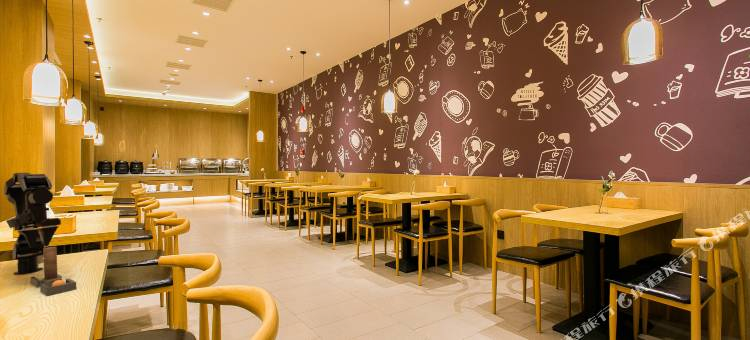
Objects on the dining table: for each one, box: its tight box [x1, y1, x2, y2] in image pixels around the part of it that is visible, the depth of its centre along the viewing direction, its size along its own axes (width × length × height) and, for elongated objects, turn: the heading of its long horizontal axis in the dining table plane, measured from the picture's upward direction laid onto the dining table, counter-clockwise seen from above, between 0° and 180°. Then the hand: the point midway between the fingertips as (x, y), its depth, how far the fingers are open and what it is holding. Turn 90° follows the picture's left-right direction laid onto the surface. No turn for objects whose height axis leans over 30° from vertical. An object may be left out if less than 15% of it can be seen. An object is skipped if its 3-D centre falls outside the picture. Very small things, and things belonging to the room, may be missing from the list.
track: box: [29, 273, 63, 288], centre depth 137 cm, size 8×7×2 cm
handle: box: [36, 227, 44, 264], centre depth 165 cm, size 5×6×15 cm
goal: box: [39, 277, 77, 297], centre depth 129 cm, size 8×8×2 cm
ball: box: [52, 279, 66, 287], centre depth 128 cm, size 4×4×4 cm
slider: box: [40, 246, 63, 287], centre depth 133 cm, size 6×4×13 cm
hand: (39, 246), depth 141 cm, fingers open, 9 cm apart
